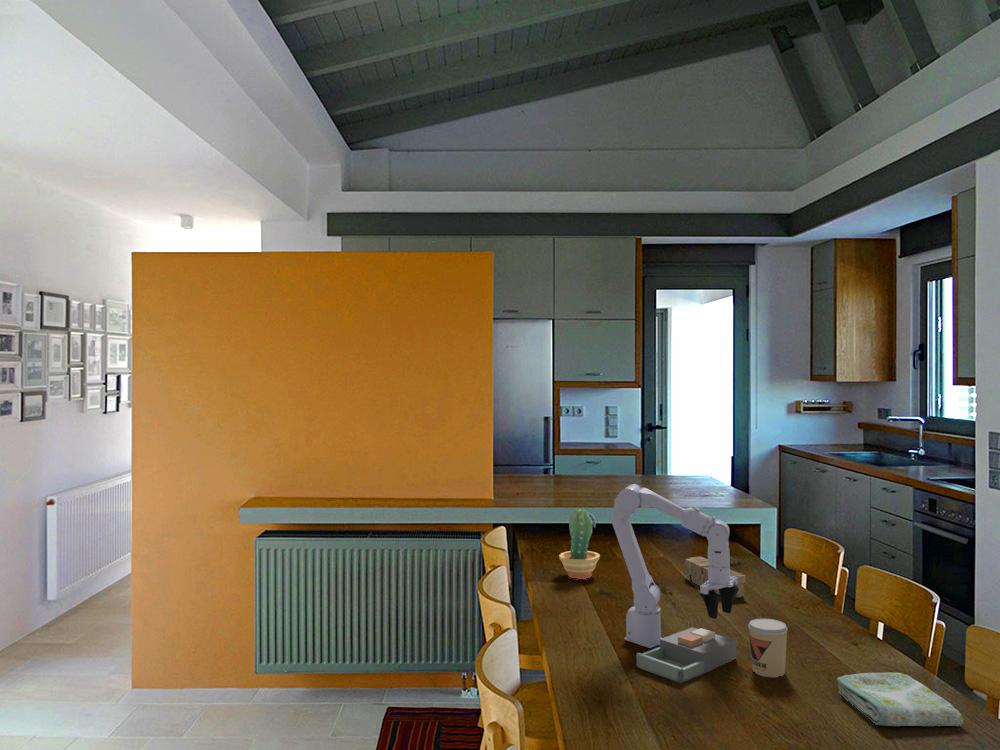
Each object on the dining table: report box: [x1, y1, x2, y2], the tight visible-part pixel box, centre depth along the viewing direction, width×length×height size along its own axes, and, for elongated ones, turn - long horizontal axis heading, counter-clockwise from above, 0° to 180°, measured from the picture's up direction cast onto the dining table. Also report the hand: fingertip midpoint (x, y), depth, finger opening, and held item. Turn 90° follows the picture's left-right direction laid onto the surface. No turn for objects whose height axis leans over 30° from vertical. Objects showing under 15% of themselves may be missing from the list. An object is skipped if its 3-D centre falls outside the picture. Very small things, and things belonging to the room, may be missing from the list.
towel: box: [836, 672, 965, 727], centre depth 170 cm, size 18×21×5 cm
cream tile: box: [691, 627, 716, 642], centre depth 203 cm, size 4×4×2 cm
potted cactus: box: [558, 508, 601, 580], centre depth 285 cm, size 15×15×25 cm
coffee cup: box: [747, 618, 788, 678], centre depth 192 cm, size 9×9×12 cm
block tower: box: [684, 556, 746, 598], centre depth 267 cm, size 8×8×29 cm
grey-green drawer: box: [635, 646, 705, 684], centre depth 194 cm, size 14×10×4 cm
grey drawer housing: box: [659, 626, 737, 674], centre depth 202 cm, size 14×14×5 cm
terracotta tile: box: [678, 633, 703, 647], centre depth 200 cm, size 4×4×2 cm
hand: (719, 615), depth 208 cm, fingers open, 6 cm apart
